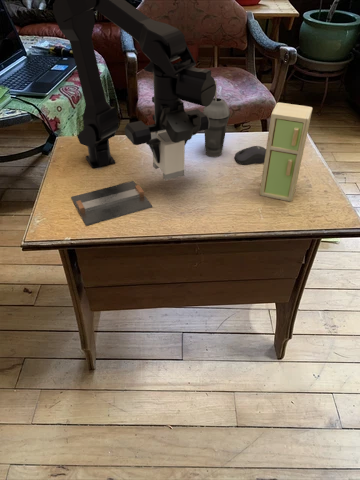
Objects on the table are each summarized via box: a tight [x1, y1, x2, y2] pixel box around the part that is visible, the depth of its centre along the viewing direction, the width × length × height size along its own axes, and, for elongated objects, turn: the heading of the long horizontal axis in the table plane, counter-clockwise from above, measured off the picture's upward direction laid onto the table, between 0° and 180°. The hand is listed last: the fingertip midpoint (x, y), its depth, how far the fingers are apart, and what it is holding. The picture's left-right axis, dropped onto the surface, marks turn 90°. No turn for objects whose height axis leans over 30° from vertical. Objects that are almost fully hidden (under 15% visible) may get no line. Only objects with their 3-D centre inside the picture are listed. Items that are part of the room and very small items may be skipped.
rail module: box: [152, 131, 186, 181], centre depth 96 cm, size 7×5×9 cm
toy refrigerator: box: [259, 102, 313, 202], centre depth 94 cm, size 8×7×21 cm
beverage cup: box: [202, 79, 231, 158], centre depth 109 cm, size 7×7×20 cm
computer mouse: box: [234, 145, 266, 166], centre depth 112 cm, size 6×9×4 cm, turn 99°
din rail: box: [70, 180, 153, 227], centre depth 97 cm, size 12×16×2 cm
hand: (168, 160), depth 97 cm, fingers closed on rail module, 5 cm apart
